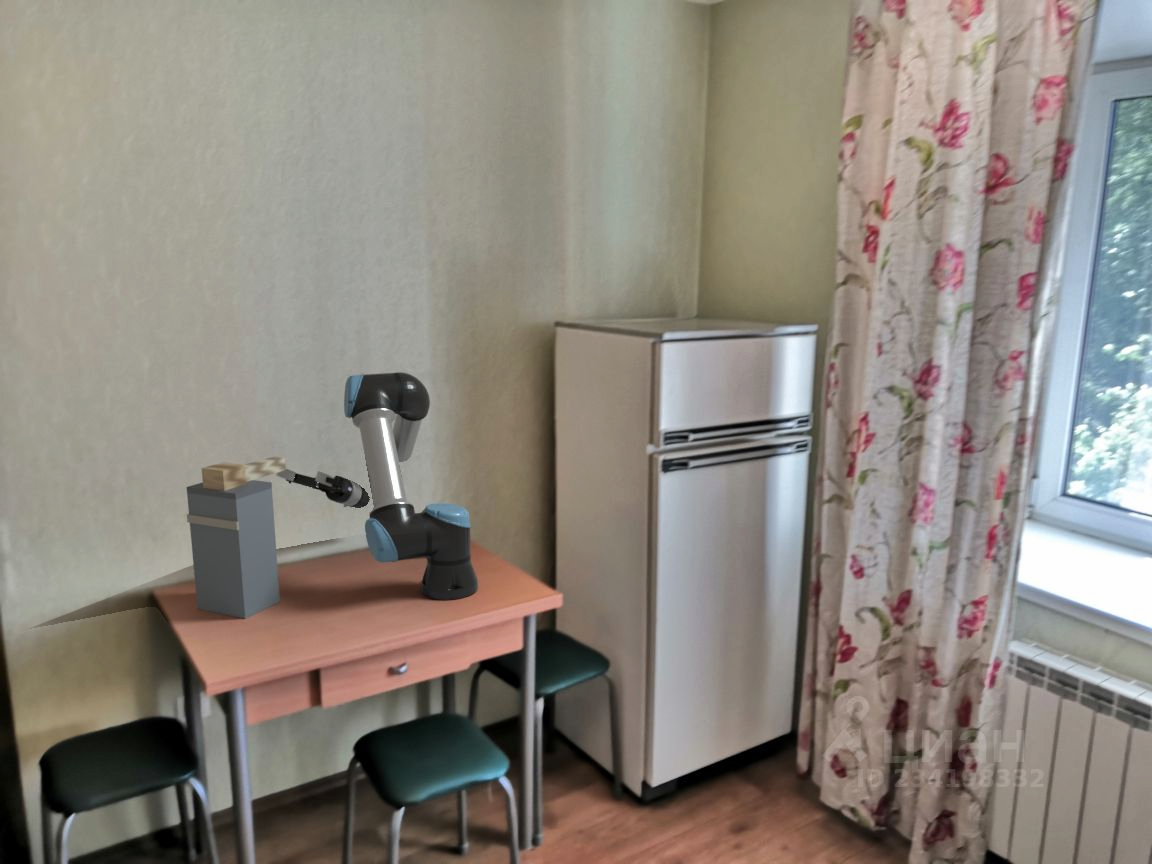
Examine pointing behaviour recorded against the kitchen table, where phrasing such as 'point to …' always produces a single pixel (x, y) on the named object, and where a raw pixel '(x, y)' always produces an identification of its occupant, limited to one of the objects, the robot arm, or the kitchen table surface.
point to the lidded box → (234, 548)
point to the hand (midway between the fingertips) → (297, 473)
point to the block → (239, 473)
